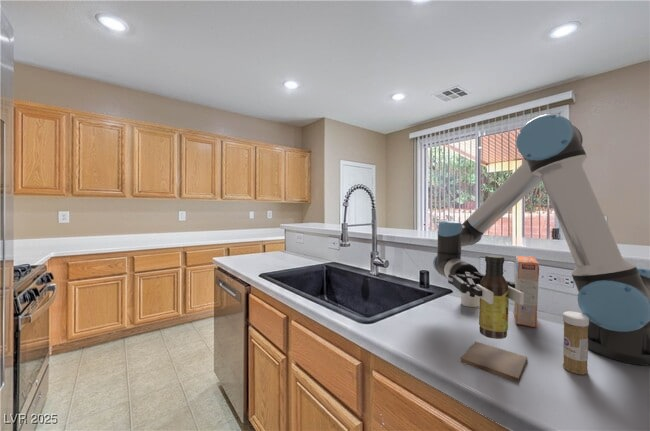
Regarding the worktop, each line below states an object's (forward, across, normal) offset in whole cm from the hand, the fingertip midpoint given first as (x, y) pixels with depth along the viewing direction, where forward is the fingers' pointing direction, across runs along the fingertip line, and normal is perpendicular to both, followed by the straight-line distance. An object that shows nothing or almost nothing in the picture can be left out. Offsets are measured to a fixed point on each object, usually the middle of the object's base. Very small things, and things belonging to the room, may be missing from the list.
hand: (506, 298), depth 66 cm
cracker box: (-31, -26, -18) cm, 45 cm away
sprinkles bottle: (-1, -18, -18) cm, 25 cm away
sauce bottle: (-5, 0, -11) cm, 12 cm away
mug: (-46, -15, -18) cm, 52 cm away
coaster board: (-5, 0, -18) cm, 18 cm away
